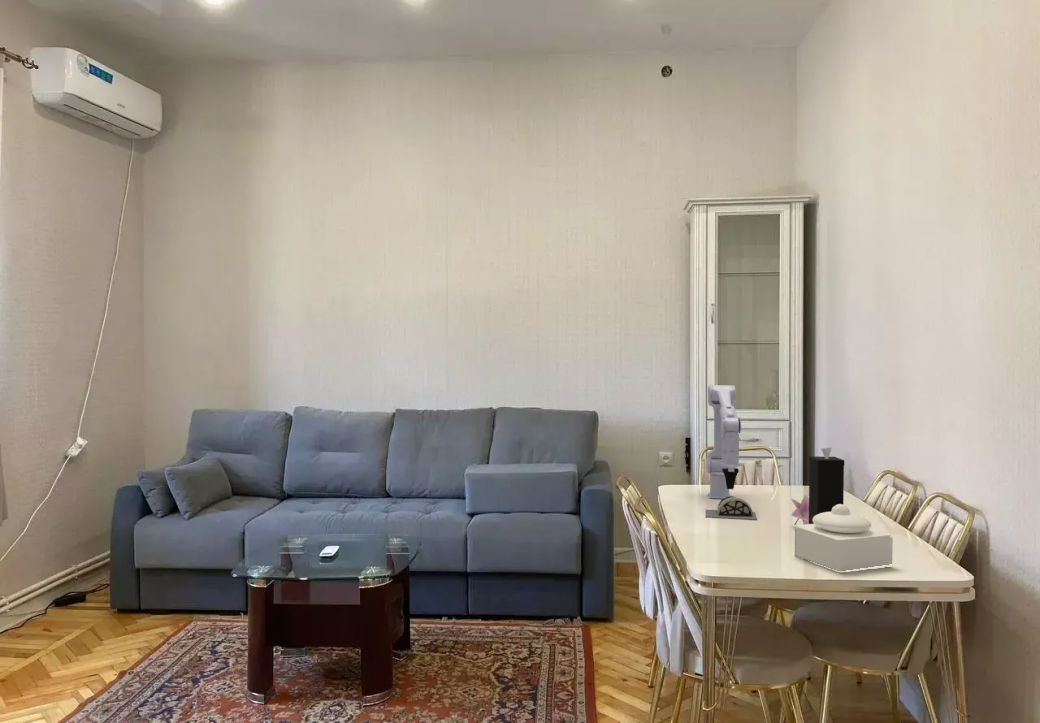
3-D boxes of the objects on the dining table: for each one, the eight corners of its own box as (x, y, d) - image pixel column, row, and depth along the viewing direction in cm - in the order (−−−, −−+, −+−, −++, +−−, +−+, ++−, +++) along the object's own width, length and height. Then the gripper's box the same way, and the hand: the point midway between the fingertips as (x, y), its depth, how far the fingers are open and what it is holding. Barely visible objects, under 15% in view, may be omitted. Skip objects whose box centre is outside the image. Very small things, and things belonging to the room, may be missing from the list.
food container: (748, 493, 275) (754, 498, 265) (748, 510, 276) (753, 516, 266) (713, 492, 277) (717, 497, 267) (713, 509, 277) (717, 515, 267)
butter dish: (892, 568, 206) (893, 508, 206) (837, 574, 200) (838, 513, 200) (844, 551, 223) (844, 496, 222) (792, 556, 217) (793, 500, 216)
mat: (705, 510, 277) (705, 509, 277) (754, 512, 273) (754, 511, 273) (705, 517, 266) (705, 516, 266) (757, 520, 262) (757, 519, 262)
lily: (784, 532, 249) (798, 509, 245) (775, 511, 259) (788, 488, 255) (819, 543, 250) (833, 520, 246) (808, 522, 260) (822, 499, 256)
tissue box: (808, 535, 241) (809, 445, 240) (833, 535, 240) (834, 446, 240) (817, 541, 233) (818, 449, 232) (843, 542, 233) (844, 449, 232)
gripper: (743, 454, 268) (742, 493, 268) (741, 448, 282) (740, 485, 282) (722, 453, 269) (721, 492, 269) (721, 448, 283) (720, 485, 284)
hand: (730, 489), depth 276 cm, fingers closed
